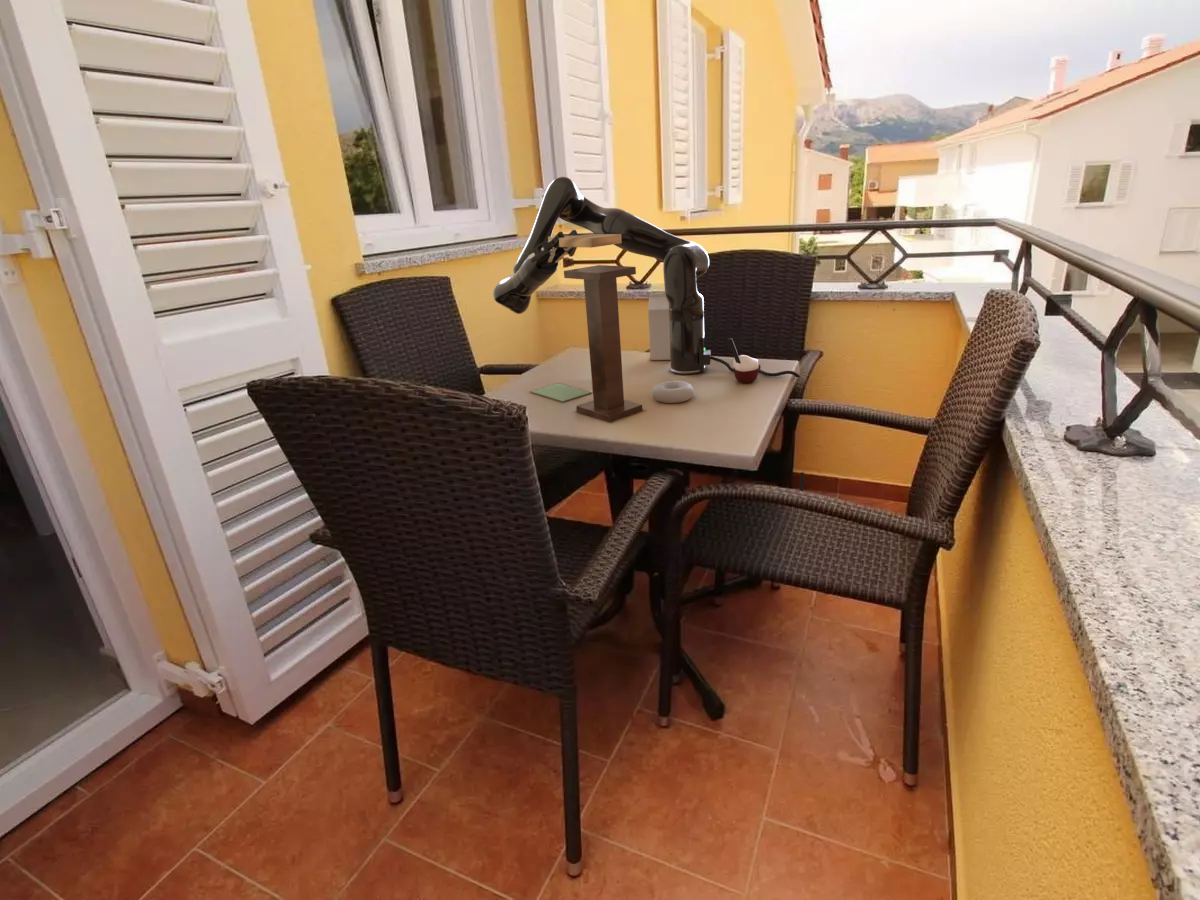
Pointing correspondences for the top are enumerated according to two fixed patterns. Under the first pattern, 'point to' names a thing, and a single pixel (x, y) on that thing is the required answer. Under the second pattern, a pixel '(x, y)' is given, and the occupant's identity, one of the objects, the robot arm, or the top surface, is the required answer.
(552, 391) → the cloth
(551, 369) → the top surface
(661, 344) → the milk carton
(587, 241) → the paddle
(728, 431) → the top surface
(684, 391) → the donut
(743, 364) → the cocoa
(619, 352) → the stand
